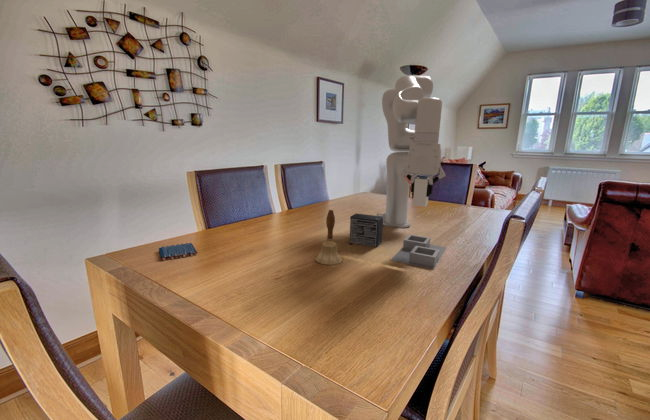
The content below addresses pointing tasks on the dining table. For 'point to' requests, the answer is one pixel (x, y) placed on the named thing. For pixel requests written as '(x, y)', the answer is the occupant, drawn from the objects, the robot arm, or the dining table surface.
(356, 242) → the small box
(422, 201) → the plug
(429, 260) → the panel
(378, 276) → the dining table surface
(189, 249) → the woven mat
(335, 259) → the hand bell
